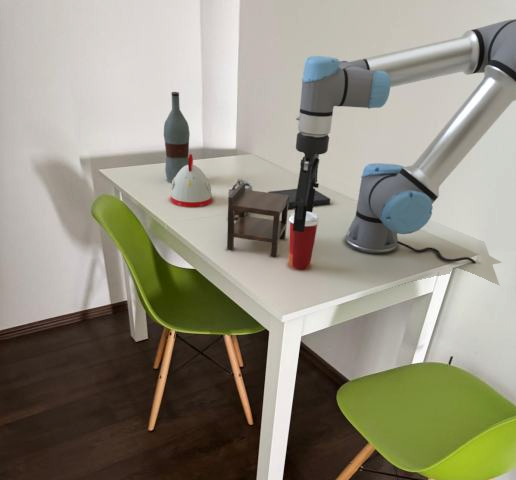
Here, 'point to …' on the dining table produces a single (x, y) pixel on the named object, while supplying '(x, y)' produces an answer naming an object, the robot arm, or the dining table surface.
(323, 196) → the picture frame
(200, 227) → the dining table surface
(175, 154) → the bottle
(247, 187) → the food container
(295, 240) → the paper cup
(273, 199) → the rack
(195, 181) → the kitchen timer
